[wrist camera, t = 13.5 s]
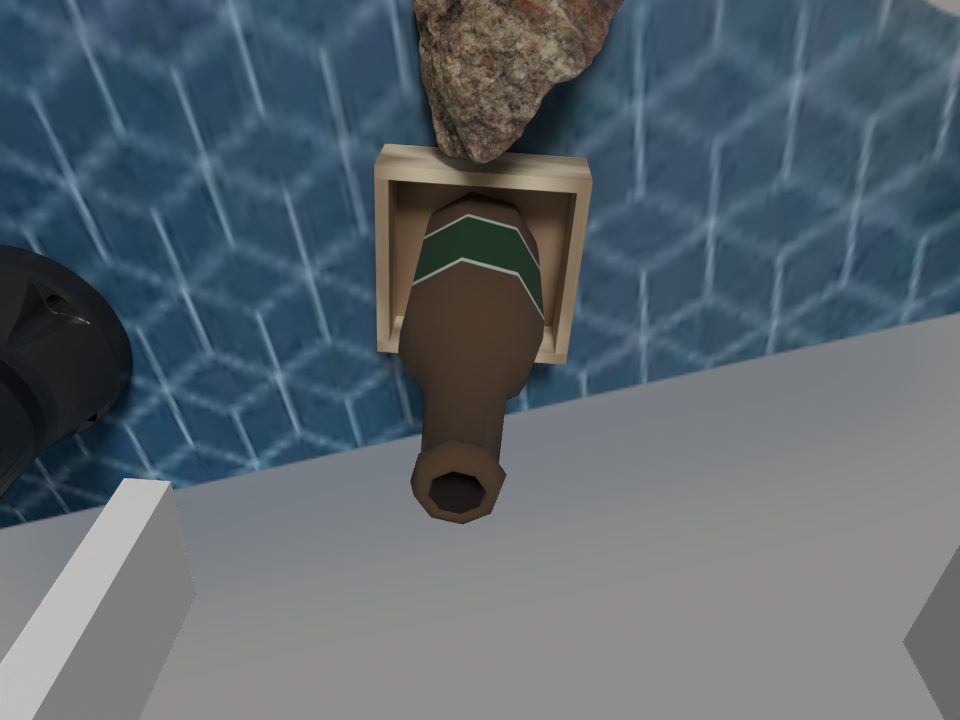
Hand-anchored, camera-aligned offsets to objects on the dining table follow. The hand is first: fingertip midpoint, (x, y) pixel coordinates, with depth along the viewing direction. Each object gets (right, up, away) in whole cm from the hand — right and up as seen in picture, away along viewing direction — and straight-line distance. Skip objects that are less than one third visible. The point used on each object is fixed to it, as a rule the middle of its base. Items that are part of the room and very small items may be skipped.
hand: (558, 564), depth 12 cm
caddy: (-1, +11, +36) cm, 38 cm away
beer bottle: (-1, +11, +36) cm, 37 cm away
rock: (0, +24, +29) cm, 37 cm away
